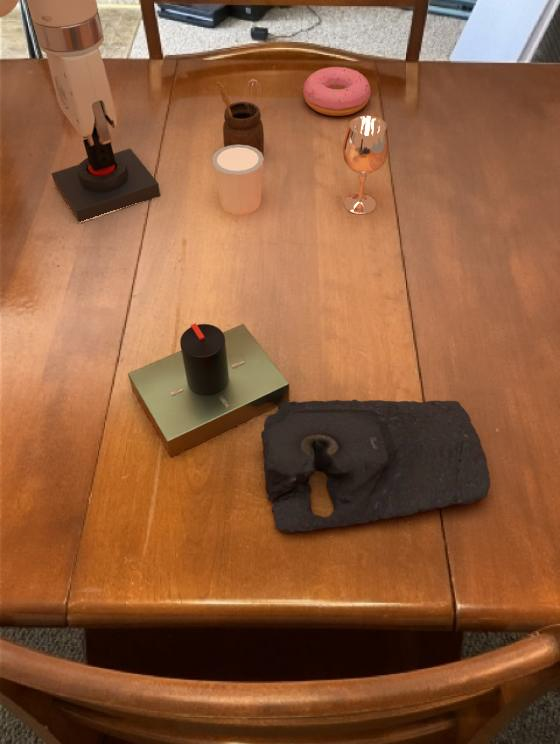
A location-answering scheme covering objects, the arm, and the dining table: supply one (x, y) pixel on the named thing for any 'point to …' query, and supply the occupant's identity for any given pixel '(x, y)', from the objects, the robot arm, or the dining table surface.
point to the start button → (101, 171)
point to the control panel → (212, 411)
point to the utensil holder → (242, 122)
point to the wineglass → (364, 157)
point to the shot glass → (239, 178)
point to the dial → (205, 358)
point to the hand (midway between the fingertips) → (102, 164)
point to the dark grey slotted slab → (370, 460)
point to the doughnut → (336, 91)
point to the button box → (106, 186)
